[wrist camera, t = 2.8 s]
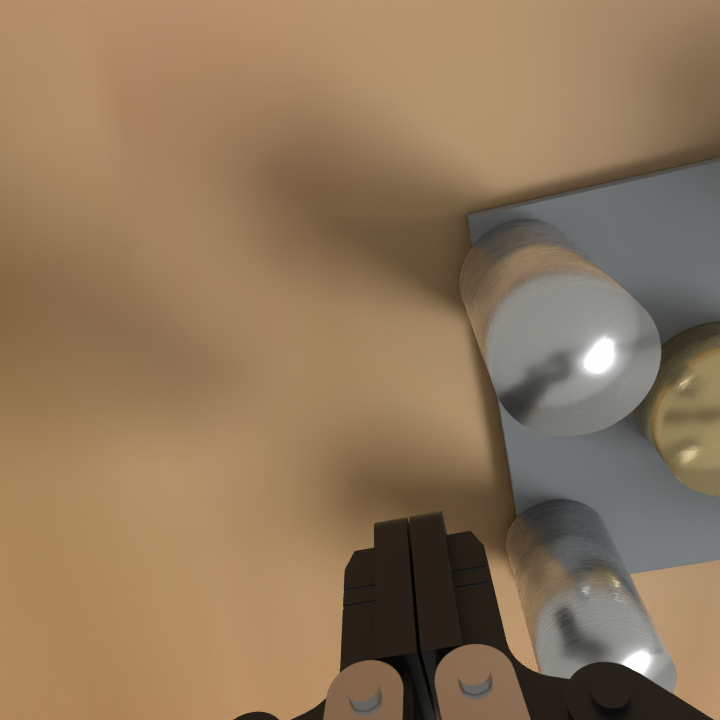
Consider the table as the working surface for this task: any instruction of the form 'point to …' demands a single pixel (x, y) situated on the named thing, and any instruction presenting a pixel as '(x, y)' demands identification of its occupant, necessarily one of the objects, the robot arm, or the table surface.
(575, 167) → the table surface
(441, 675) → the robot arm
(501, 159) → the table surface
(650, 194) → the mat
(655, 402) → the brushed gold puck
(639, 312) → the cylinder
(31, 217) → the table surface
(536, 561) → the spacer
